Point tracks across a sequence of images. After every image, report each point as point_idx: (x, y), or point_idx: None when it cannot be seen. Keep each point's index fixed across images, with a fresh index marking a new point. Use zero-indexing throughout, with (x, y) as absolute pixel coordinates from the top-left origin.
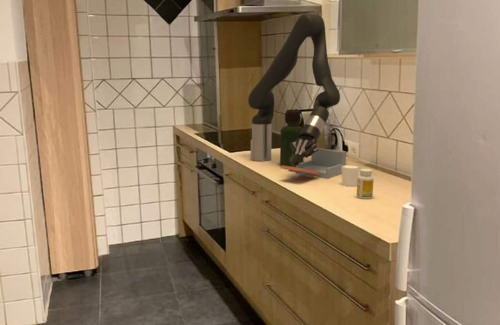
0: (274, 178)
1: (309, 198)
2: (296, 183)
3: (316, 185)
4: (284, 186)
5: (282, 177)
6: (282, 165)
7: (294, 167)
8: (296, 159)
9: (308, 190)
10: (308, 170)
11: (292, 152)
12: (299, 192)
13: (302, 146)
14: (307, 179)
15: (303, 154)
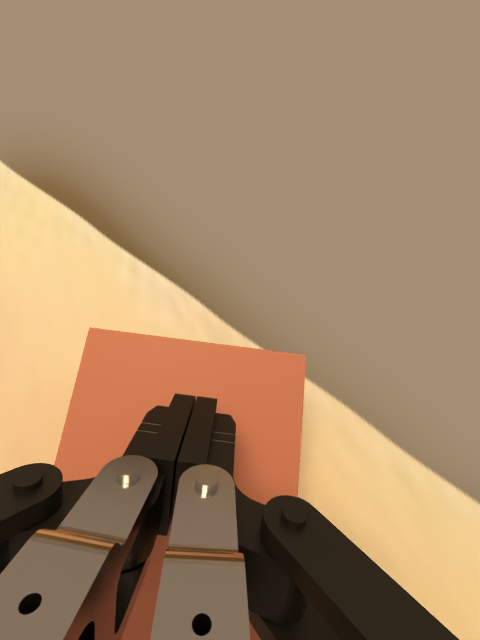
0: (364, 458)
1: (14, 182)
2: None
3: (9, 418)
4: (197, 301)
5: (341, 531)
6: (292, 354)
7: (160, 337)
8: (173, 411)
9: (42, 285)
10: None
11: (293, 498)
12: (81, 238)
13: (56, 615)
14: None
15: (66, 488)
